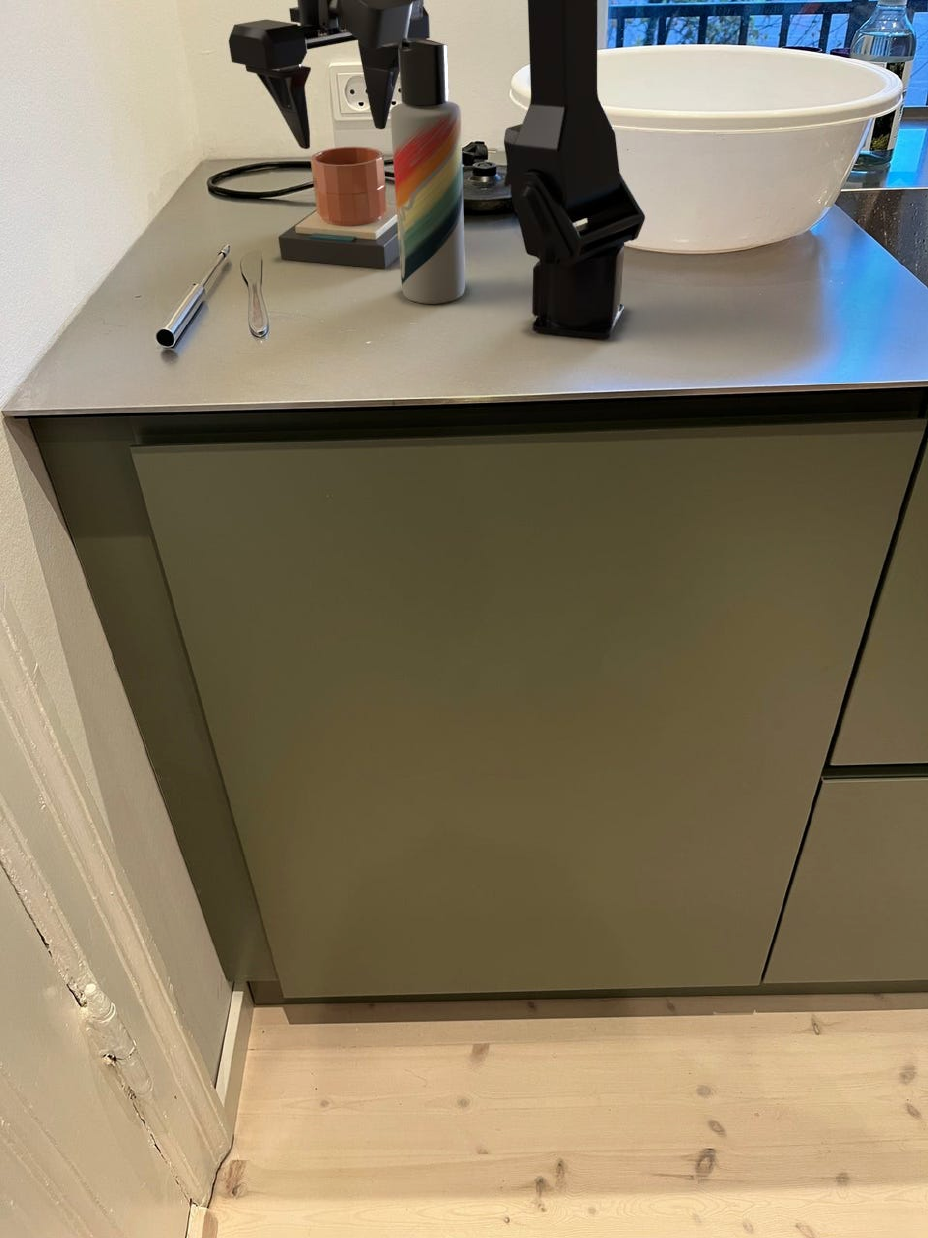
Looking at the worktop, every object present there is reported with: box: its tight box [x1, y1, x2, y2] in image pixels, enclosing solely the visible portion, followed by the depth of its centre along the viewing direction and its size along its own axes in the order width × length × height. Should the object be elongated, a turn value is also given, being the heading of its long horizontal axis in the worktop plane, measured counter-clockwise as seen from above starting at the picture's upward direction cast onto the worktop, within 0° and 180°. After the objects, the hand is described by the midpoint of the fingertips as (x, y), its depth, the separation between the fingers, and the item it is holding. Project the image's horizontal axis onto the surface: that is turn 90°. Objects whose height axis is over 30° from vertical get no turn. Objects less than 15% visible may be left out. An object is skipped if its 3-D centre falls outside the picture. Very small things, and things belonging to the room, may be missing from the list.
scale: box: [278, 204, 400, 270], centre depth 97 cm, size 11×11×3 cm
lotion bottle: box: [390, 38, 466, 305], centre depth 81 cm, size 6×6×20 cm
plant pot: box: [310, 146, 388, 226], centre depth 94 cm, size 7×7×6 cm
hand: (343, 137), depth 91 cm, fingers open, 9 cm apart
